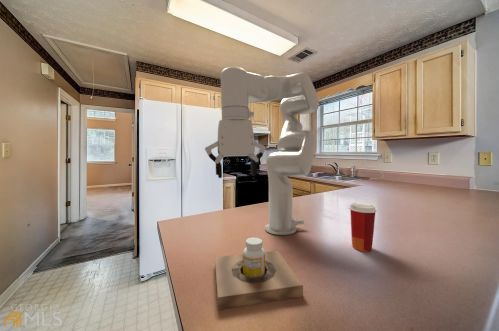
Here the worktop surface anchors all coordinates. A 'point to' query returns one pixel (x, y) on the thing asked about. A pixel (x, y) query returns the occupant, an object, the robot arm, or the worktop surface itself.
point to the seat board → (254, 282)
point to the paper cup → (362, 226)
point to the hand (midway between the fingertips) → (236, 176)
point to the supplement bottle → (253, 258)
